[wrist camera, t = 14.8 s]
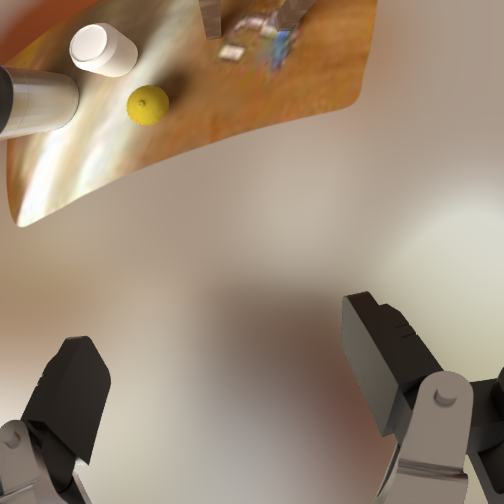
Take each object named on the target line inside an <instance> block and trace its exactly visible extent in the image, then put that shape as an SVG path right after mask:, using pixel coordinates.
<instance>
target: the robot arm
mask: <svg viewBox="0 0 504 504" xmlns="http://www.w3.org/2000/svg"><path fill="white" fill-rule="evenodd" d="M78 101H79V91H78V88H77V85H76V83H75V82H74V80H73V79H72V78H70V77H69V76H67V75H64V74H58V73H53V72H47V71H40V70H33V69H26V68H17V67H7V66H0V141H2V140H6V139H10V138H15V137H19V136H24V135H29V134H34V133H40V132H45V131H51V130H57V129H59V128H62V127H63V126H65V125H66V124H67V123H68V122H69V121H70V120H71V119H72V117H73V116H74V114H75V112H76V110H77V106H78ZM342 344H343V348H344V352H345V355H346V357H347V359H348V361H349V363H350V366H351V368H352V370H353V372H354V374H355V377H356V379H357V381H358V383H359V386H360V388H361V390H362V392H363V395H364V397H365V399H366V401H367V404H368V406H369V408H370V411H371V413H372V415H373V417H374V419H375V422H376V424H377V427H378V429H379V431H380V434H381V436H382V437H384V436H387V435H389V434H392V433H394V434H395V437H396V439H397V441H398V442H397V445H396V447H395V450H394V453H393V456H392V459H391V461H390V464H389V466H388V469H387V471H386V474H385V477H384V479H383V481H382V484H381V486H380V488H379V491H378V493H377V495H376V497H375V499H374V502H373V504H464V500H465V496H466V492H467V488H468V475H467V474H466V473H464V472H463V465H464V460H465V455H468V456H469V458H470V461H471V463H472V465H473V467H474V470H475V472H476V474H477V477H478V479H479V481H480V484H481V486H482V489H483V491H484V494H485V496H486V499H487V501H488V504H504V367H503V369H502V370H501V372H500V374H499V376H498V378H495V379H489V380H483V381H476V382H468V381H467V380H466V379H465V378H464V377H463V376H461V375H459V374H457V373H455V372H450V371H444V370H443V369H442V368H441V366H440V365H439V363H438V362H437V361H436V359H435V358H434V356H433V355H432V354H431V352H430V351H429V349H428V348H427V347H426V345H425V344H424V343H423V341H422V340H421V339H420V337H419V336H418V335H416V332H415V331H414V329H413V328H412V327H411V326H409V323H408V321H407V320H406V319H405V317H404V316H403V315H402V314H401V312H400V311H398V310H396V309H395V308H393V307H391V306H390V305H388V304H383V305H378V304H377V302H376V301H375V299H374V298H373V297H372V296H371V294H370V293H369V292H367V291H366V292H361V293H357V294H353V295H348V296H344V297H343V300H342ZM37 385H38V386H36V387H35V389H34V391H33V394H32V396H31V398H30V400H29V402H28V404H27V406H26V409H25V411H24V413H23V415H22V417H21V419H20V420H11V421H9V422H7V423H6V424H4V425H3V426H2V427H1V428H0V504H92V503H91V501H90V499H89V497H88V495H87V493H86V491H85V489H84V487H83V485H82V482H81V480H80V478H79V476H78V474H77V473H76V472H75V471H74V466H75V464H79V465H87V466H89V463H90V458H91V455H92V450H93V446H94V442H95V438H96V435H97V431H98V427H99V424H100V420H101V416H102V413H103V410H104V406H105V403H106V399H107V396H108V392H109V389H110V385H111V377H110V373H109V370H108V368H107V367H106V365H105V363H104V361H103V360H102V358H101V356H100V354H99V353H98V351H97V349H96V347H95V345H94V344H93V342H92V340H91V339H90V338H89V337H88V336H79V337H69V338H66V339H65V341H64V342H63V344H62V346H61V348H60V350H59V352H58V353H57V354H56V355H55V356H54V357H53V358H52V359H51V360H50V361H49V362H48V364H47V366H46V368H45V369H44V371H43V373H42V377H41V378H40V379H39V381H38V383H37Z"/></svg>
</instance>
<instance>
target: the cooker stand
mask: <svg viewBox="0 0 504 504" xmlns="http://www.w3.org/2000/svg"><path fill="white" fill-rule="evenodd" d="M316 1H317V0H286V1H285V3H284V5H283V6H282V8H281V10H280V11H279V13H278V15H277V17H276V18H275V24H276V29H277V31H291V29H292V28H293V27H294V26H295V25H296V23H297V22H298V21H299V20H300V19H301V18H302V16H303V15H304V14H305V13H306V12H307V11H308V10H309V8H310V7H311V6H312V5H313V4H314V3H315V2H316ZM199 4H200V9H201V14H202V18H203V23H204V27H205V32H206V37H207V40H211V39H217V38H221V5H220V0H199Z"/></svg>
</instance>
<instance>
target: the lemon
mask: <svg viewBox="0 0 504 504" xmlns="http://www.w3.org/2000/svg"><path fill="white" fill-rule="evenodd" d="M168 109H169V99H168V96H167V94H166V93H165V92H164V91H163V90H162V89H160V88H159V87H156V86H153V85H147V86H142V87H140V88H138V89H136V90H135V91H134V92H133V93H132V94H131V95H130V97H129V99H128V101H127V112H128V115H129V116H130V118H131V119H132V120H133V121H134V122H135V123H138V124H140V125H145V126H147V125H153V124H156V123H158V122H159V121H161V120H162V119H163V118H164V117H165V115H166V114H167V112H168Z"/></svg>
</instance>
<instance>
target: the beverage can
mask: <svg viewBox="0 0 504 504" xmlns="http://www.w3.org/2000/svg"><path fill="white" fill-rule="evenodd" d="M70 55H71V57H72V60H73V62H74V64H75V65H76V66H77V67H79V68H80V69H83V70H87V71H91V72H94V73H98V74H102V75H105V76H109V77H119V76H122V75H125V74H126V73H128V72H129V71H130V70H131V69H132V68H133V67H134V65H135V63H136V61H137V58H138V51H137V47H136V46H135V44H134V43H133V42H132V41H131V40H129V39H128V38H127V37H125V36H124V35H123V34H121V33H120V32H119V31H117V30H116V29H115V28H113V27H112V26H110V25H108V24H105V23H96V24H92V25H88V26H85V27H83V28H82V29H80V30H79V31H78V32H77V33H76V34H75V35H74V37H73V38H72V41H71V43H70Z"/></svg>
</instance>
